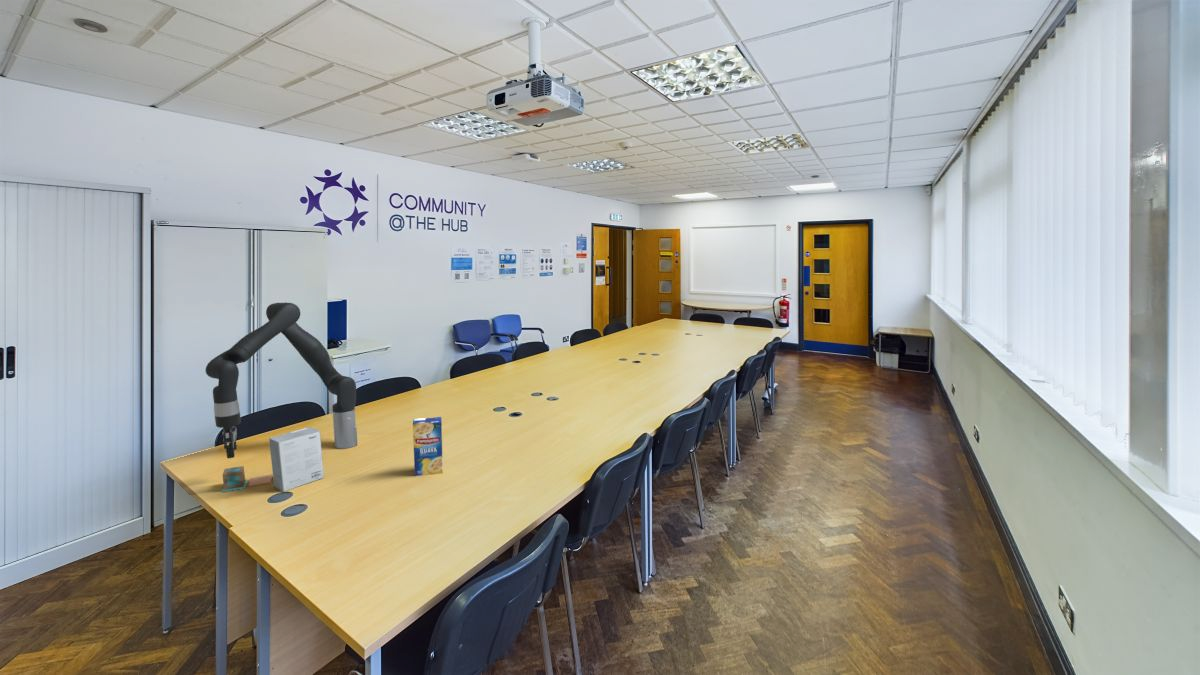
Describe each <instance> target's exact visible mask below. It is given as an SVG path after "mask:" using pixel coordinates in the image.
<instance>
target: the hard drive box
mask: <svg viewBox="0 0 1200 675" xmlns="http://www.w3.org/2000/svg"><path fill="white" fill-rule="evenodd" d="M321 439H322V438H321V431H320V430H319V429H317V428H314V427H312V426H309V427H305V428H302V429H297V430H293V431H290V432H286V433H284V434H283V433H282V434H279V435H275V436H272V437H269V438H268V440H269V441H268V442H269V451H270V460H271V468H272V469H271V470H272V477H273V485H274V488H275V489H277V490H278V491H281V492H287V491H289V490H293V489H296V488H298V487H300V486H303V485H306V484H307V485H308V484H310V483H313V482H315V481H318V480H320V479H321V480H322V479H324V477H325V474H324V463H323V450H322V442H321V441H322V440H321Z"/></svg>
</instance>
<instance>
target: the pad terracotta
mask: <svg viewBox="0 0 1200 675" xmlns="http://www.w3.org/2000/svg"><path fill="white" fill-rule="evenodd" d="M271 483H272V474H266V475H262V476H260V475H259V476H254V477H249V482H248V487H253V486H259V485H260V484H261V485H265V484H271Z"/></svg>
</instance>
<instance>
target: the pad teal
mask: <svg viewBox="0 0 1200 675" xmlns="http://www.w3.org/2000/svg"><path fill="white" fill-rule="evenodd" d="M247 482H248V480H247V479H245V484H244V487H239V488H233V489H227V490H224V486H223V488H222V489H221V490H222V491H221V492H222V493H226V492H225V491H228V492H233V491H238V490H237V489H239V490H243V488H244V489H246V488H247ZM232 490H233V491H232Z"/></svg>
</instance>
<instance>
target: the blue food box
mask: <svg viewBox="0 0 1200 675" xmlns="http://www.w3.org/2000/svg"><path fill="white" fill-rule="evenodd" d="M442 423H443V422H442V416H436V417H435V416H434V417H420V418H413V420H412V438H413V442H412V443H413V461H414V462H413V463H414V477H418V476H419V477H420V476H428V475H436V474H437V475H439V474H444V472H443V471H444V469H443V468H444V463H443V462H444V460H443V433H442V430H443V428H442V426H443V424H442Z"/></svg>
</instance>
